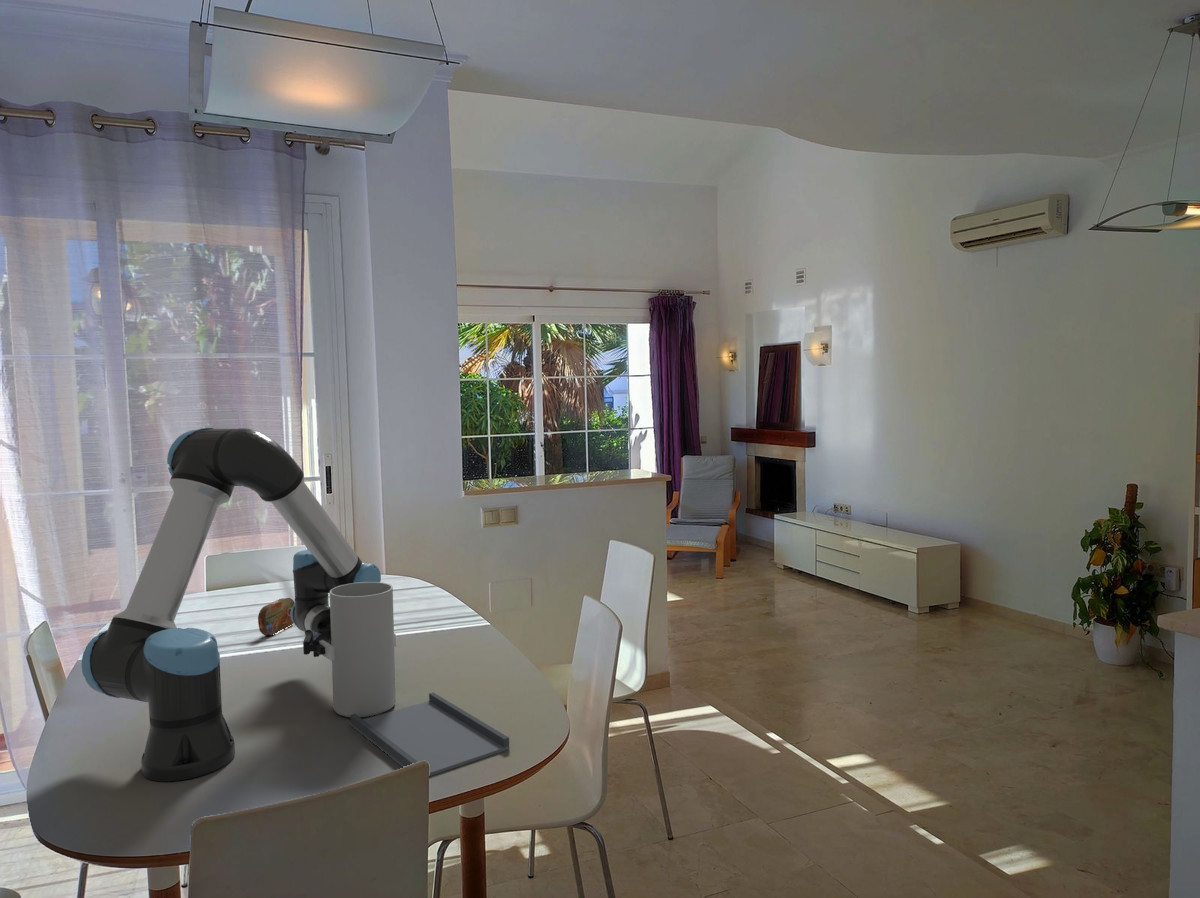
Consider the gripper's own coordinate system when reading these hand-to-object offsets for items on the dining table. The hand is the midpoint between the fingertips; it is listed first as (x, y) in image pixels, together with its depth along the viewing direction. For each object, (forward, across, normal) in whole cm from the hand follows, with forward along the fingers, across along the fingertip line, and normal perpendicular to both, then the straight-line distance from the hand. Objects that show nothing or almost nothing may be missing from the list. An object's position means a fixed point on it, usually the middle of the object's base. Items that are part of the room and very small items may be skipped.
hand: (364, 647), depth 172 cm
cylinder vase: (-1, 0, -13) cm, 13 cm away
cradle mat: (+21, -3, -13) cm, 25 cm away
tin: (-71, -4, -13) cm, 73 cm away
